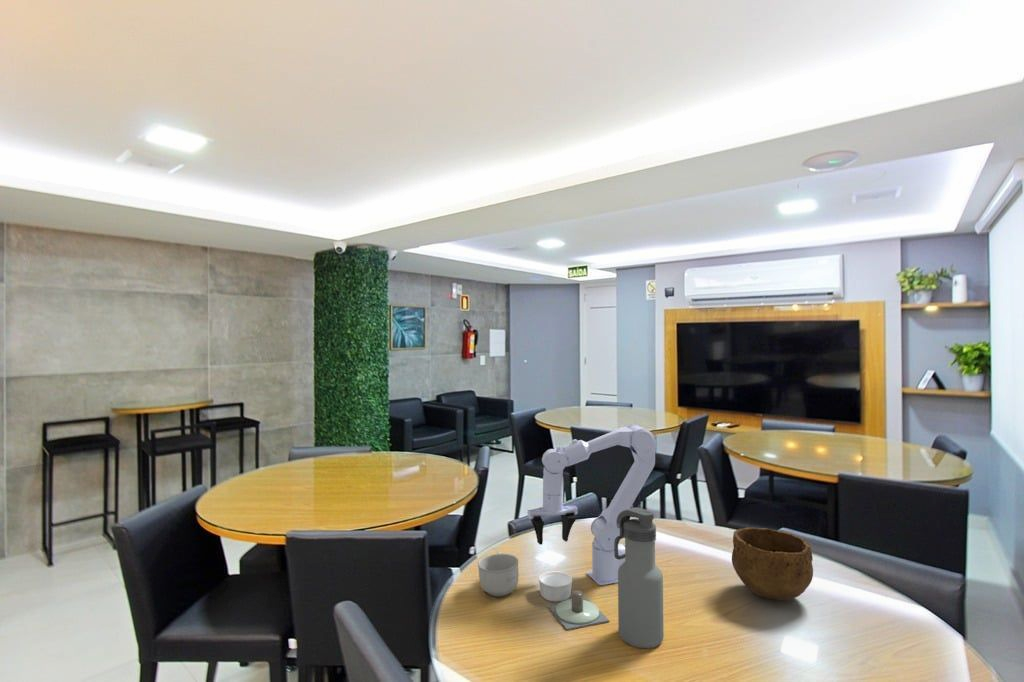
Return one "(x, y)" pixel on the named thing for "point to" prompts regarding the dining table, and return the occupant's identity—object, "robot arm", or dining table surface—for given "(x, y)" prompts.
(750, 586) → the bowl
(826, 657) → the dining table surface
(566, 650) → the dining table surface
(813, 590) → the dining table surface
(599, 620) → the mat
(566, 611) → the lid
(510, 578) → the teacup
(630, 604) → the water bottle
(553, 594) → the ramekin
